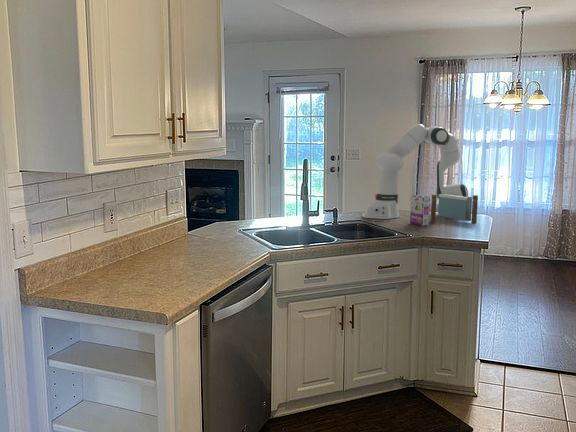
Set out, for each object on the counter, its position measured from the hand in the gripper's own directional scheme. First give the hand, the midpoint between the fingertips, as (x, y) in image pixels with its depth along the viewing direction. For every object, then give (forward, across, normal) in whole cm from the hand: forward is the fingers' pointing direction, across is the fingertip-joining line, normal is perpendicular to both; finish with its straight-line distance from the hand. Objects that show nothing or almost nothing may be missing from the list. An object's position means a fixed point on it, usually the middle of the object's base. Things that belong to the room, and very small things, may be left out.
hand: (450, 209), depth 332 cm
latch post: (+17, -5, +6) cm, 19 cm away
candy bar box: (+26, -10, +6) cm, 29 cm away
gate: (+3, +3, +4) cm, 6 cm away
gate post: (+6, +15, +6) cm, 18 cm away
